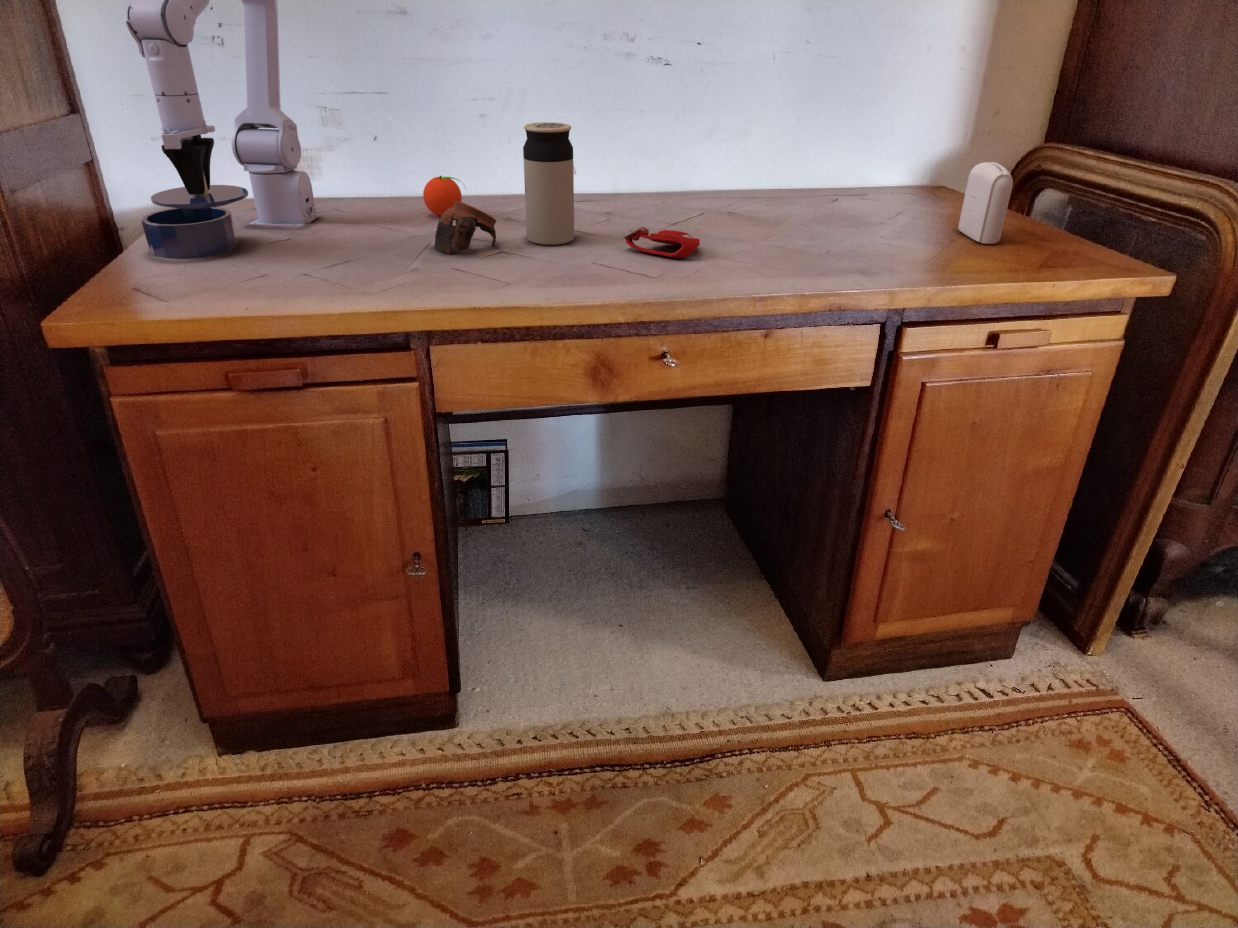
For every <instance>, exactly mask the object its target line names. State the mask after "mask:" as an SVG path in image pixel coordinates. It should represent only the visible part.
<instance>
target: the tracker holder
mask: <svg viewBox="0 0 1238 928" xmlns="http://www.w3.org/2000/svg"><path fill="white" fill-rule="evenodd" d="M649 231H650V229H649V228H647V227H646V226H643V225H640V226H638V227H636V228H634V229H631V230H629V231H628V232H627V233H625V234H623V235H621V238H622V239H624V240H625V242H626V244H627V245H628V246H629V247H630V248H632V249H634V250H637V251H639V252H643V253H646V254H652V255H657V256H658V255H659V256H664V257H669V258H677V259H686V258H688V257H690V256H691V255H693V253H695V251H696V250H697V248H698V247H699V246H700V244H701V243H700V242H701V239H700V238H696V237H693V236H692V235H691V234H689V233H688V232H685V231H681V230H677V229H663V230H660V231H658V232H657V233H655V232H654V233H652V232H651V233H650V232H649ZM640 238H643V239H647V240H649V241H651V242H655V243H659V244H665V245H672V246H678V247H679V246H680V248H679V249H678V250H676V251H675V252H665V251H660V250H654V249H649V248H644V247H642V246H639V245H637V244H635V242H634V241H639V240H640Z"/></svg>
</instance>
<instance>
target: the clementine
mask: <svg viewBox="0 0 1238 928" xmlns="http://www.w3.org/2000/svg"><path fill="white" fill-rule="evenodd" d="M455 180H456V181H458V182H461V183H462V181H461V180H460V179H458V178H456V177H453V176H442V175H439V176H435V177H433V178H430V180H429V181H427V183H426V184H425V186H424V188H423V191H422V192H423V193H422V198H423V201H424V204H425V207H426V208H427V209H428V210H429V211H430V212H431V213H432V214H434V215H436V216H439V217H441V216H442V214H443V213H444V212H445V211H446V210H448V209H450V208H452V207H453V206H454V203H455V201H459V202H462V199H463V194H462V191H461V188H460V187H459V185H458V183H456V181H455ZM463 186H464V188H465V190H467V187H466V185H465V184H463Z"/></svg>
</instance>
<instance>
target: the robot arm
mask: <svg viewBox="0 0 1238 928" xmlns="http://www.w3.org/2000/svg"><path fill="white" fill-rule="evenodd" d="M210 1H211V0H132V1H131V2H130V3H129V4H128V6H127V9H126V20H125V24H126V27H127V30H128V31H129V33H130V36H131V37H132V38H133V40H134V41H135V43H136V45H137V48H138V52H139V54H140V55H141V57H142V58H143V59H145V62H146V67H147V71H148V74H149V75H148V76H149V78H150V82H151V83H150V84H151V86H152V91H153V94H154V99H155V104H156V106H157V107H156V108H157V110H158V116H159V119H160V123H161V126H162V127H161V128H160V130H161V133H162V134H161V139H162V143H163V144H162V145H161V146H160V147H161V151H162V152H163V154H164V155H165V156H166V157H167V158H168V160H169V161H170V163H172V165H173V167H174V168H175V170H176V172H177V174H178V175H179V177H180V179H181V182H182V183H183V185H184V186H183V187H185V188H186V190H187V192H188V193H189V195H200V194H204V193H205V183H204V175H205V179H206V183H207V188H208V190H209V189H210V185H211V159H212V152H213V149H214V145H215V139H214V138H213V137H202V135H207V134H208V133H214V132H216V127H215V125H208V124H207V123H206V119H205V116H204V112H203V111H204V110H203V107H202V101H201V98H200V94H199V90H198V89H199V88H198V85H197V80H196V76H195V75H196V74H195V70H194V67H193V62H192V58H191V54H190V48H189V44H190V43H192V42H193V39H194V35H195V25H196V21H197V19H198V17H199V16H200V15H201V14H202V13H203V11H205V10H206V8H207V7H208V6H209V5H210ZM240 1H241V3H242V6H243V28H244V30H243V31H244V57H245V58H244V59H245V84H246V106H245V108H244V109H243V110H241V112H240V113H238V114H237V115H236V116H235V117H234V127H233V134H232V137H231V141H230V143H231V150H232V154H233V156H234V158H235V160H236V161H237V163H238V164H239V165H240V166H242V167H243V172H248V176H249V180H250V181H249V182H250V185H251V191H252V195H253V200H254V205H255V210H256V215H257V218H256V219H255V220H253V221H251V222H249V225H260V226H261V225H265V226H266V225H267V226H304V225H306V224H310V223H312V222H313V221H315V220H316V219H318V218H319V214H317V210H316V205H315V198H314V197H315V196H314V191H313V185H312V182H311V178H310V176H309V174H308V173H307V172H306V171H304V170H297V168H298V165H299V163H300V161H301V158H302V147H301V142H300V140H299V134H298V125H297V124H296V123H295V122H294V121H293V119H291V117H289V116H288V115H287V114H285V112H284V111H282V109H281V108H282V107H281V80H280V79H281V77H280V75H281V74H280V43H279V42H280V41H279V7H278V5H279V4H278V0H240ZM203 170H204V173H203Z"/></svg>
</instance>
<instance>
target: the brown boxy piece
mask: <svg viewBox="0 0 1238 928" xmlns="http://www.w3.org/2000/svg"><path fill="white" fill-rule="evenodd" d="M454 221H455V225H453V224H454ZM496 223H497V220H496V219H495V218H494V217H493V216H491V215H489V214H488V213H486V212H485V211H482V210H481V209H478V208H476V207H474V206H473V205H470V204H467V203H465V202H462V201H461V202H459V201H455V203H454V206H453V207H452V208H450V209H448V210H446V211H445V212H444V213H443V214H442V216H440V218H439V220H438V222H437V226H436V231H435V235H434V245H433V247H434V248H436V249H437V250H439V251H441V252H443V253H446V254H448V255H451V254H452V247H453V246H454V248H455V249H457V250H458V251H464V250H469V249H470V246H471V241H472V238H473V236H474V234H475V232H476V230H477V228H479V229H480V230H481V231H483V232H485V233H488V234H489V235H490V236H491V237H492V241H491V247H492V248H494V246H495V245H496V241H497V231H496V228H495V225H496Z"/></svg>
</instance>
